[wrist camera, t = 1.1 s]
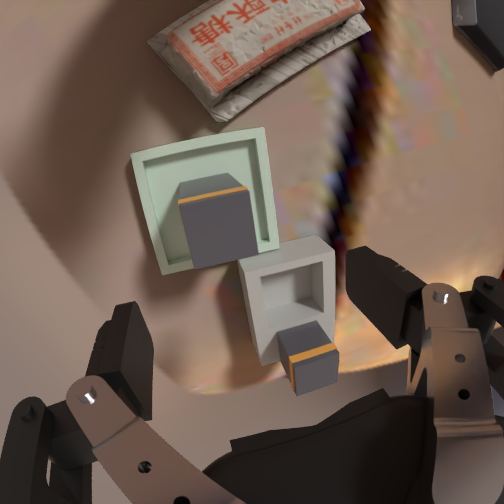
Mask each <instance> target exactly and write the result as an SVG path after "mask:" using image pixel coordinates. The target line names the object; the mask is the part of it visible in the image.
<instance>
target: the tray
mask: <svg viewBox="0 0 504 504" xmlns="http://www.w3.org/2000/svg"><path fill="white" fill-rule="evenodd" d="M131 159H132V164H133V168H134V173H135V177H136V182H137V186H138V190H139V194H140V198H141V202H142V206H143V210H144V214H145V218H146V222H147V225H148V229H149V233H150V236H151V240H152V243H153V247H154V250H155V254H156V257H157V261H158V264H159V267H160V270H161V274H162V275H167V274H171V273H175V272H180V271H184V270H188V269H193V268H194V266H193V263H192V259H191V255H190V251H189V247H188V243H187V239H186V235H185V231H184V227H183V222H182V218H181V214H180V209H179V205H178V200H179V191H180V182H185V181H189V180H194V179H198V178H203V177H208V176H213V175H218V174H223V173H229V174H230V175H231V176H233V177H234V178H235V179H236V180H237V181H238V182H239V183H241V184H242V185H243V186H246V187H247V188H248V190H249V192H250V199H251V206H252V212H253V219H254V225H255V232H256V239H257V246H258V252H259V253H262V252H266V251H270V250H274V249H279V248H280V246H279V238H278V229H277V221H276V213H275V205H274V197H273V189H272V181H271V174H270V166H269V159H268V151H267V144H266V137H265V130H264V127H259V128H251V129H245V130H238V131H232V132H226V133H220V134H214V135H209V136H204V137H199V138H194V139H189V140H184V141H179V142H175V143H171V144H166V145H162V146H158V147H154V148H150V149H146V150H142V151H138V152H134V153H132V154H131Z"/></svg>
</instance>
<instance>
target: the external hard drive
mask: <svg viewBox="0 0 504 504" xmlns="http://www.w3.org/2000/svg"><path fill="white" fill-rule="evenodd" d="M452 14H453V25H454V26H455V27H456V28H457V29H458V30H459V31H460V32H461V33H462V34H463V35H464V36H465V37H466V38H467V39H468V40H469V42H470V43H471V44H472V45H473V46H474V47H475V48H476V49H477V50H478V51H479V53H480V54H481V55H482V56H483V57H484V58H485V60H486V61H487V62H488V63H489V64H490V65H491V67H492V68H493V69H494V70H495V71H499V70H501V69H503V68H504V0H452Z"/></svg>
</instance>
